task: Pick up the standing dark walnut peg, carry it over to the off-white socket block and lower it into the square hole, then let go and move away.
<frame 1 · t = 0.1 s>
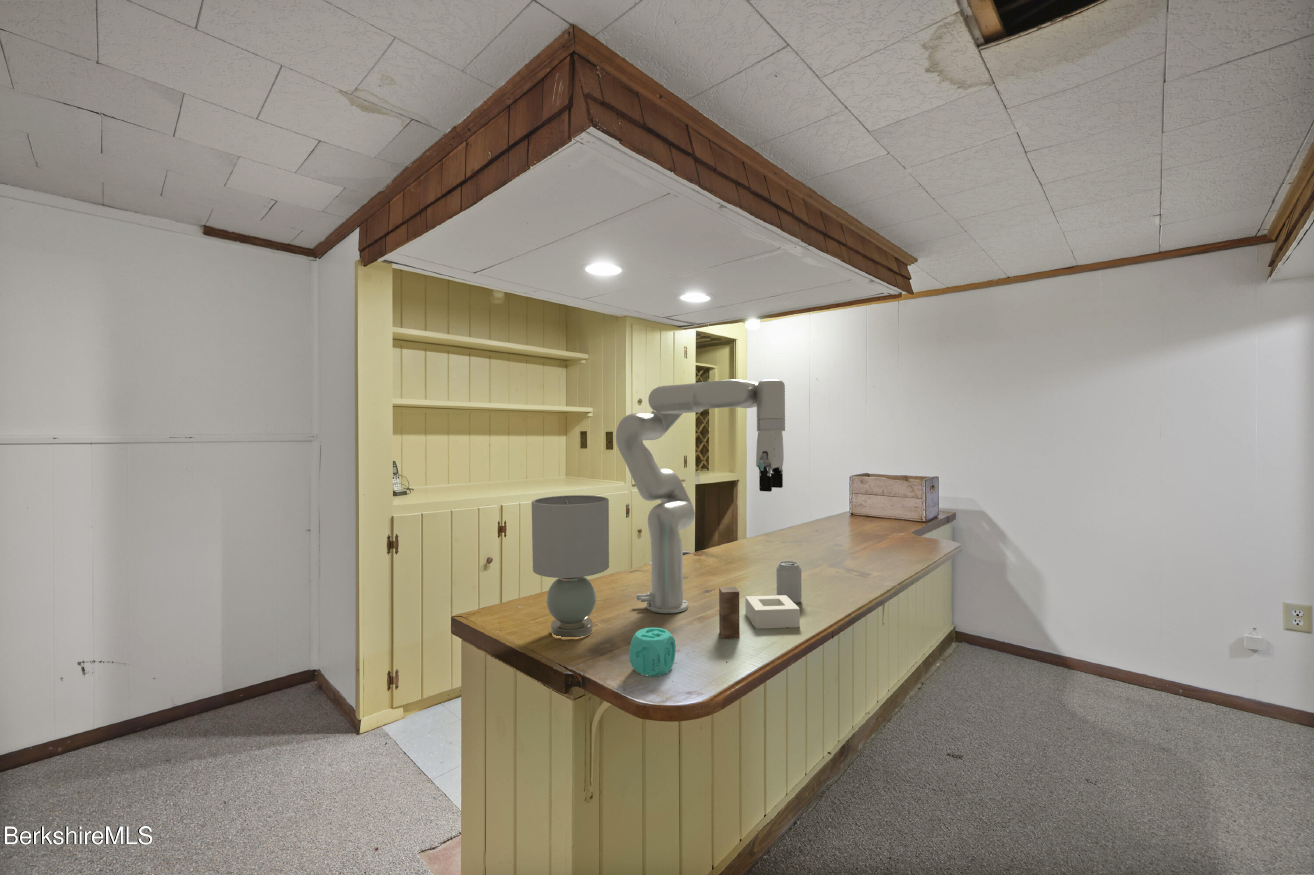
hand: (771, 489, 149), 37 cm above the worktop, tool pointing down, fingers open, 9 cm apart
can: (789, 601, 171), on the worktop
peg: (729, 635, 143), on the worktop
socket block: (771, 620, 154), on the worktop
lamp: (572, 633, 146), on the worktop
decorative dice: (652, 669, 124), on the worktop
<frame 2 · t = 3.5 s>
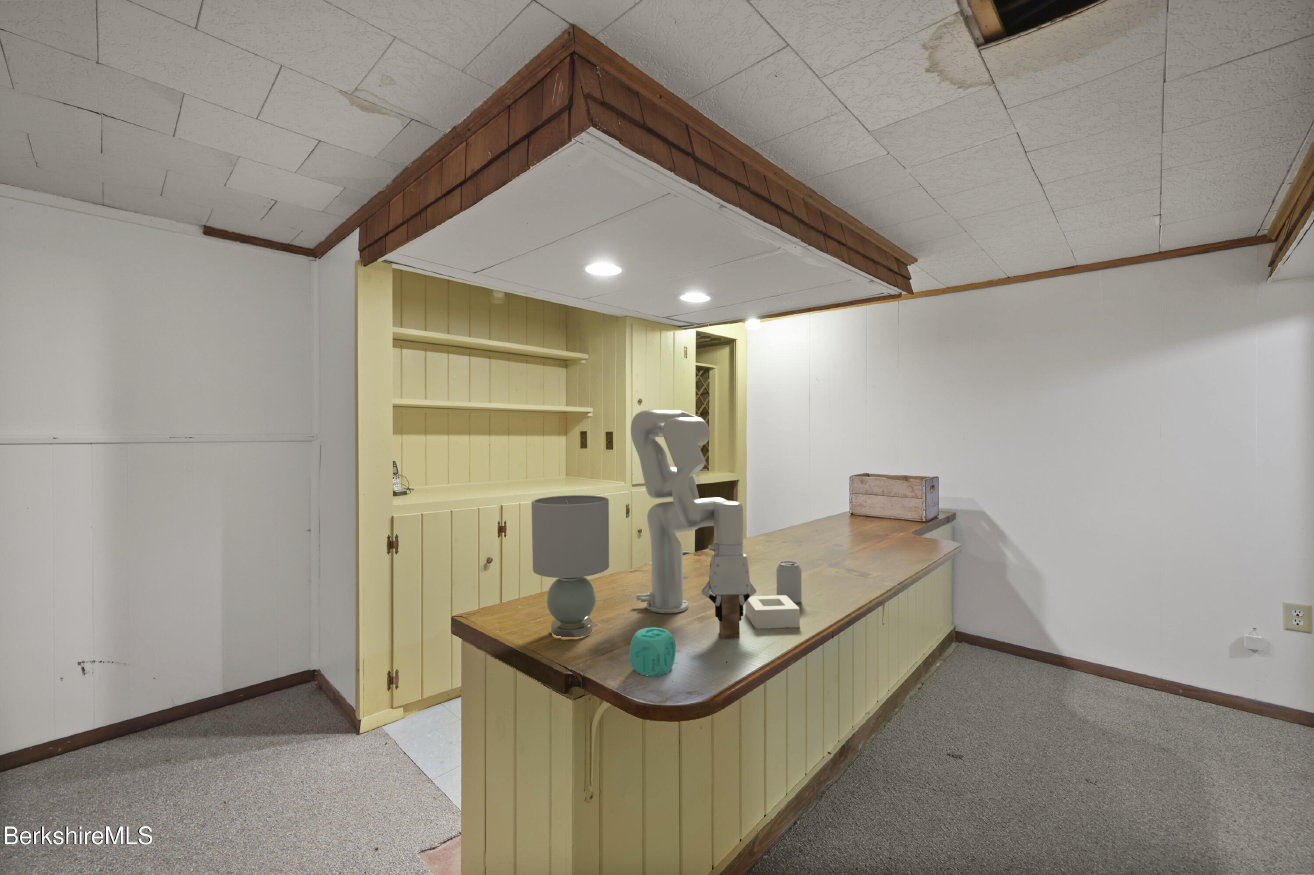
hand: (729, 618, 143), 4 cm above the worktop, tool pointing down, fingers closed on peg, 4 cm apart
peg: (729, 635, 143), on the worktop, touching gripper
everything else where it was.
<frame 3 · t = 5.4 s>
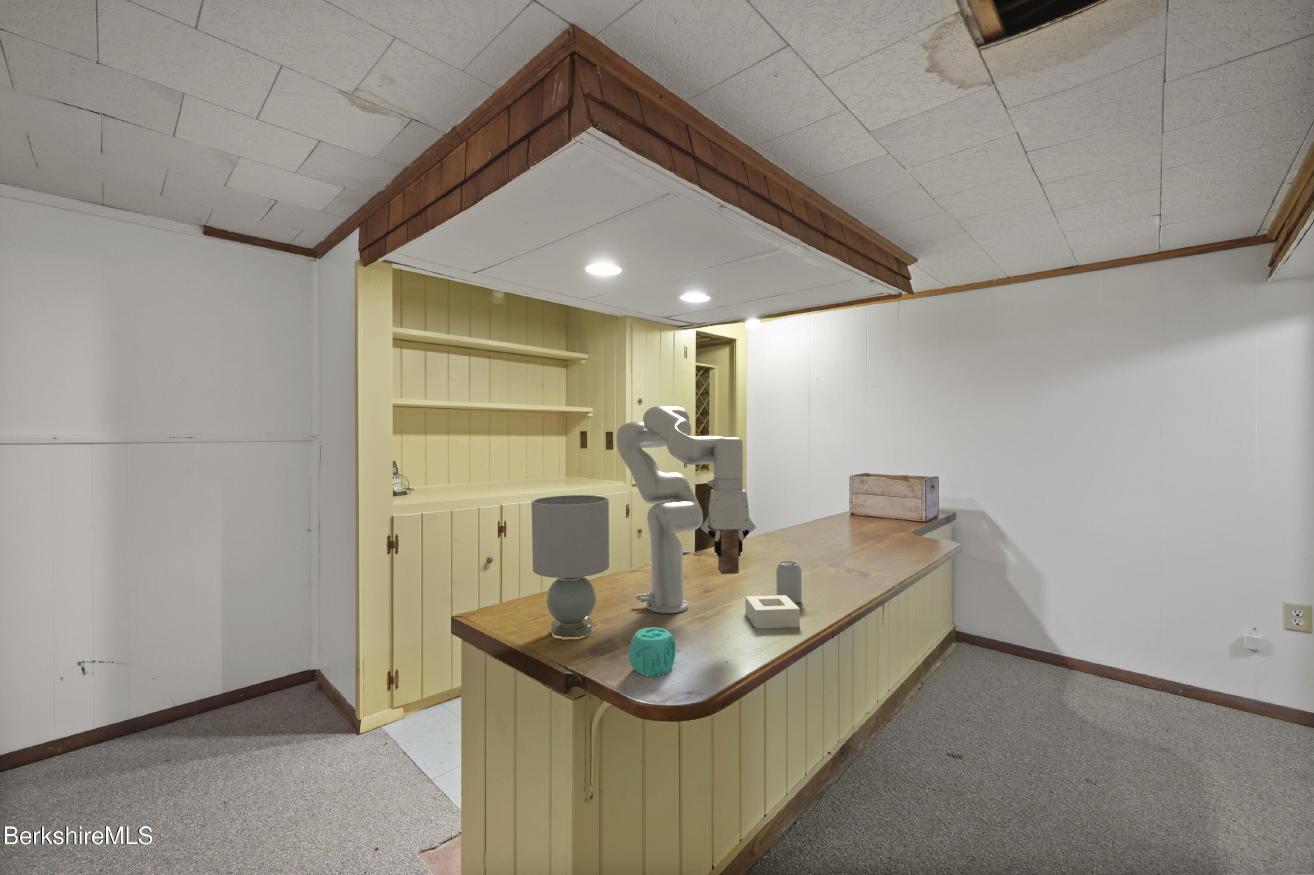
hand: (728, 554, 143), 21 cm above the worktop, tool pointing down, fingers closed on peg, 4 cm apart
peg: (728, 571, 143), point 17 cm above the worktop, touching gripper
everything else where it was.
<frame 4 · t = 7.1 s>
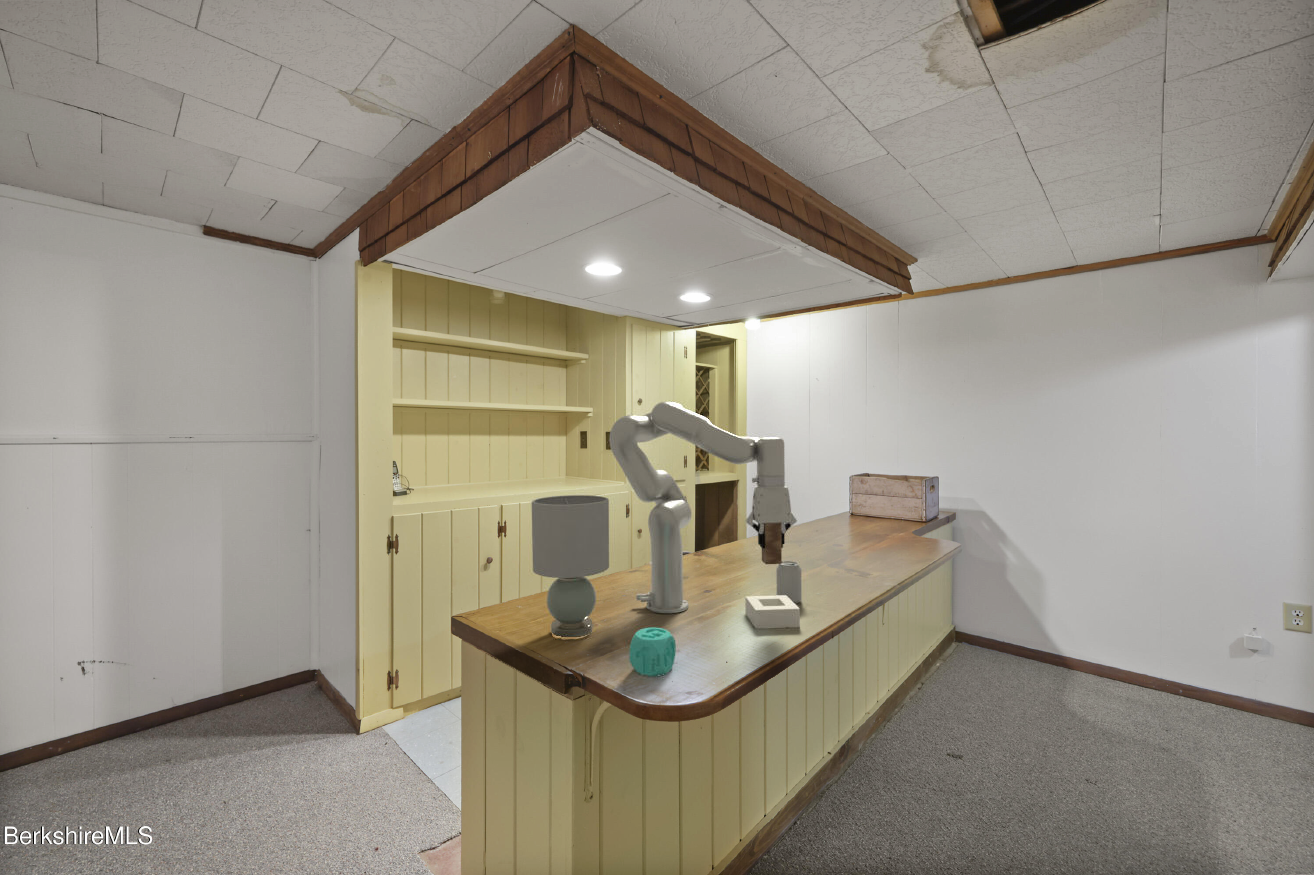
hand: (771, 546, 154), 21 cm above the worktop, tool pointing down, fingers closed on peg, 4 cm apart
peg: (771, 562, 154), point 16 cm above the worktop, touching gripper
everything else where it was.
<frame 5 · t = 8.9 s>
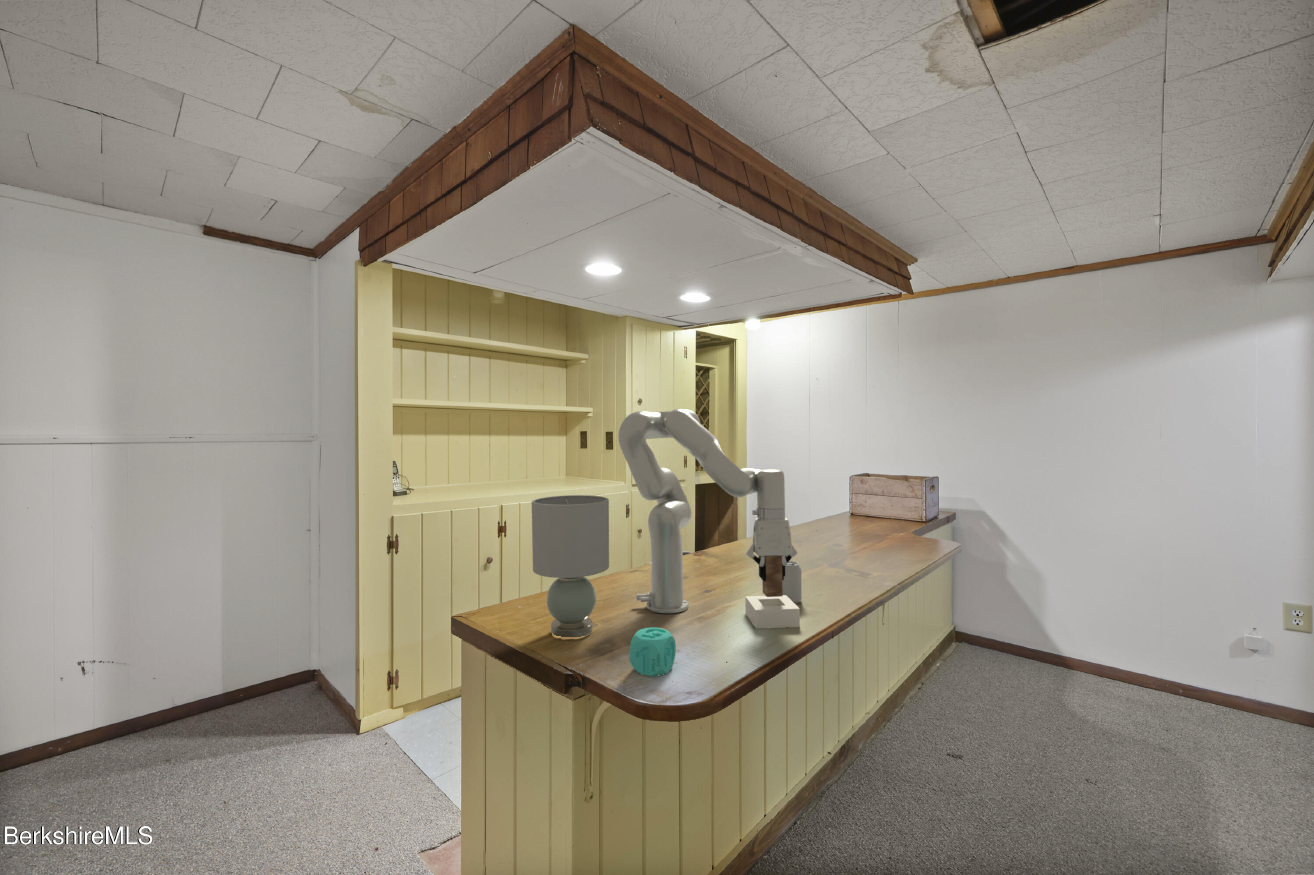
hand: (772, 578, 154), 12 cm above the worktop, tool pointing down, fingers closed on peg, 4 cm apart
peg: (772, 594, 154), point 7 cm above the worktop, touching gripper
everything else where it was.
when the fingers open (6 cm above the worktop, at t = 10.6 s): peg drops 2 cm, resting in socket block.
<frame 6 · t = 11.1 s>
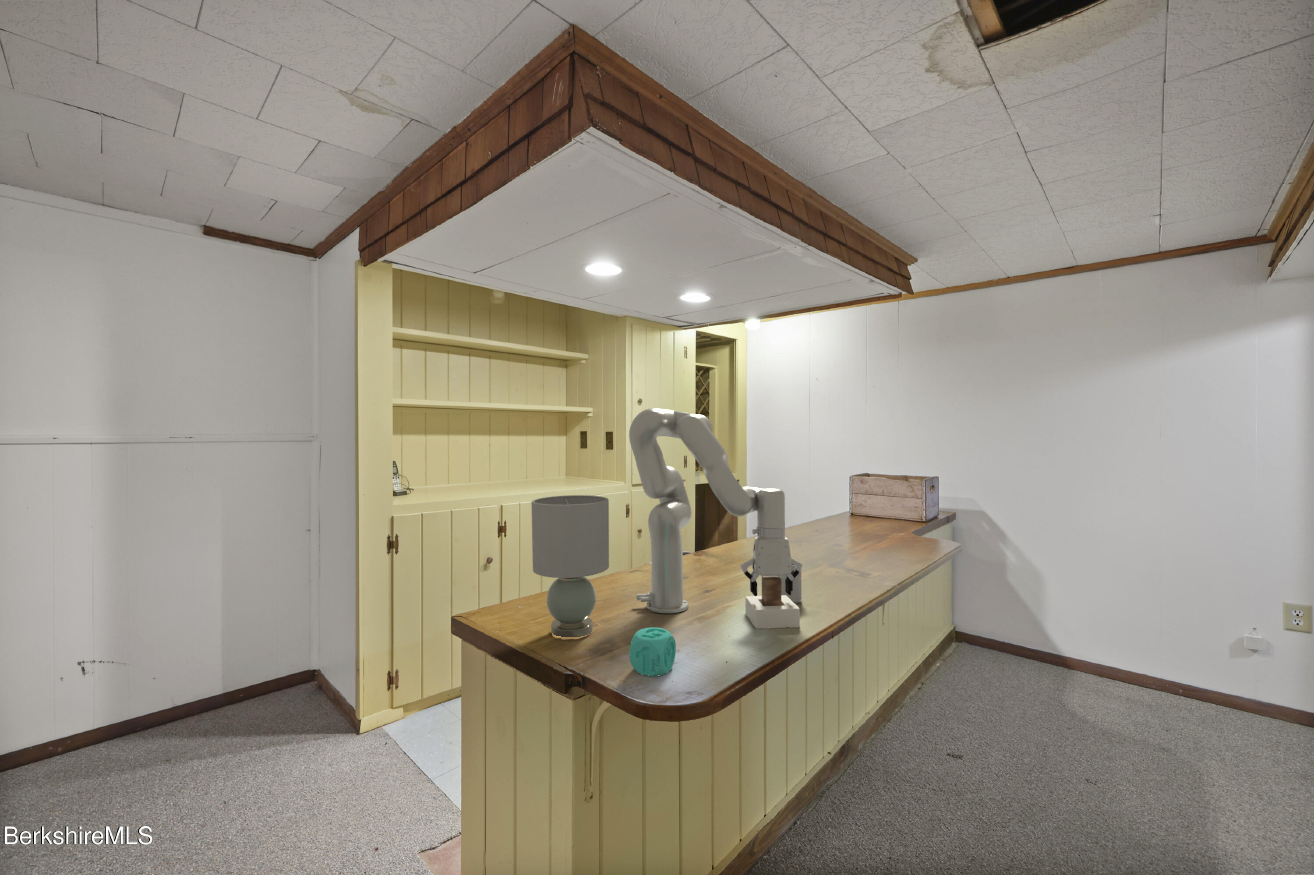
hand: (771, 594, 154), 7 cm above the worktop, tool pointing down, fingers open, 9 cm apart
peg: (771, 620, 154), resting in socket block
everything else where it was.
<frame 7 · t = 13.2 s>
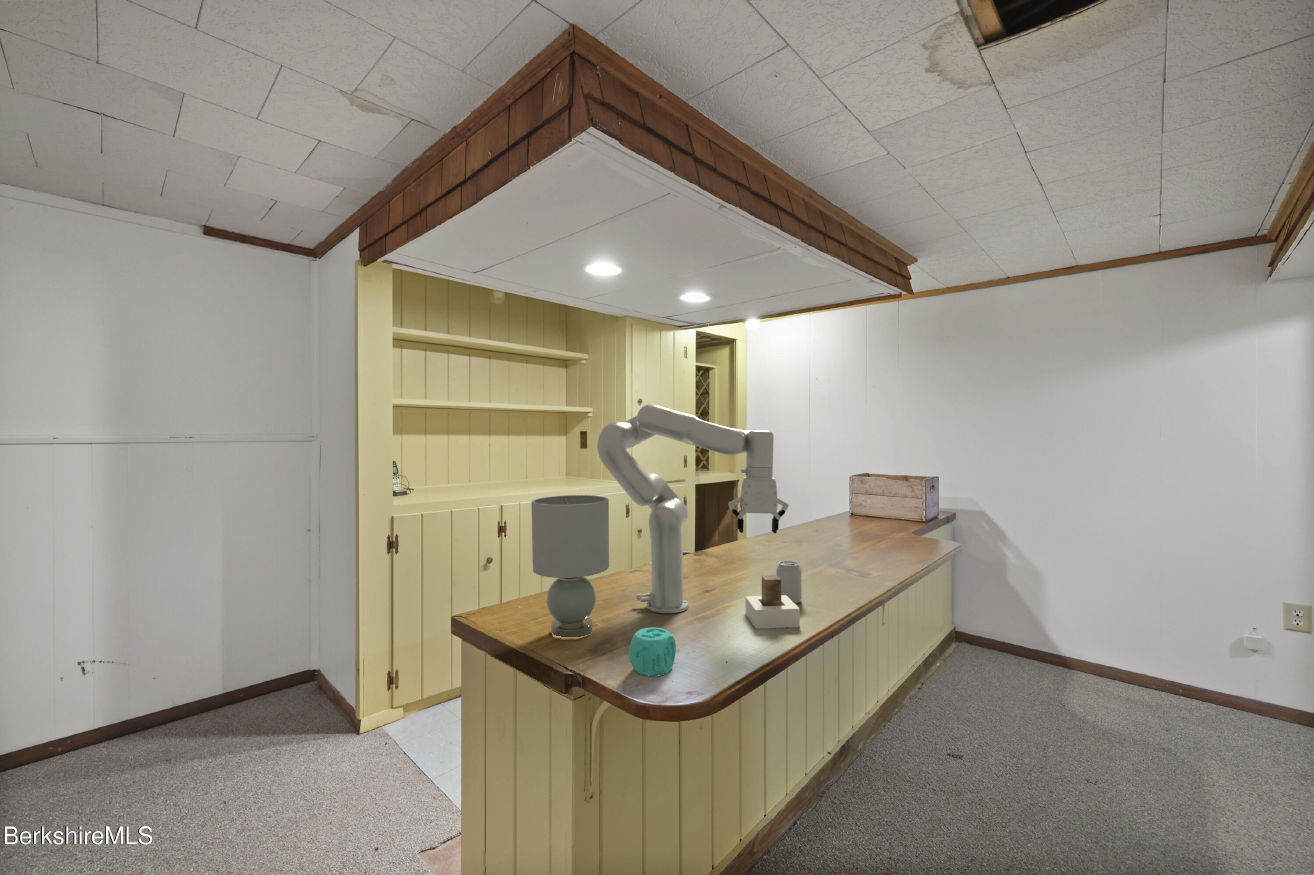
hand: (757, 532, 159), 24 cm above the worktop, tool pointing down, fingers open, 9 cm apart
nothing on the worktop moved.
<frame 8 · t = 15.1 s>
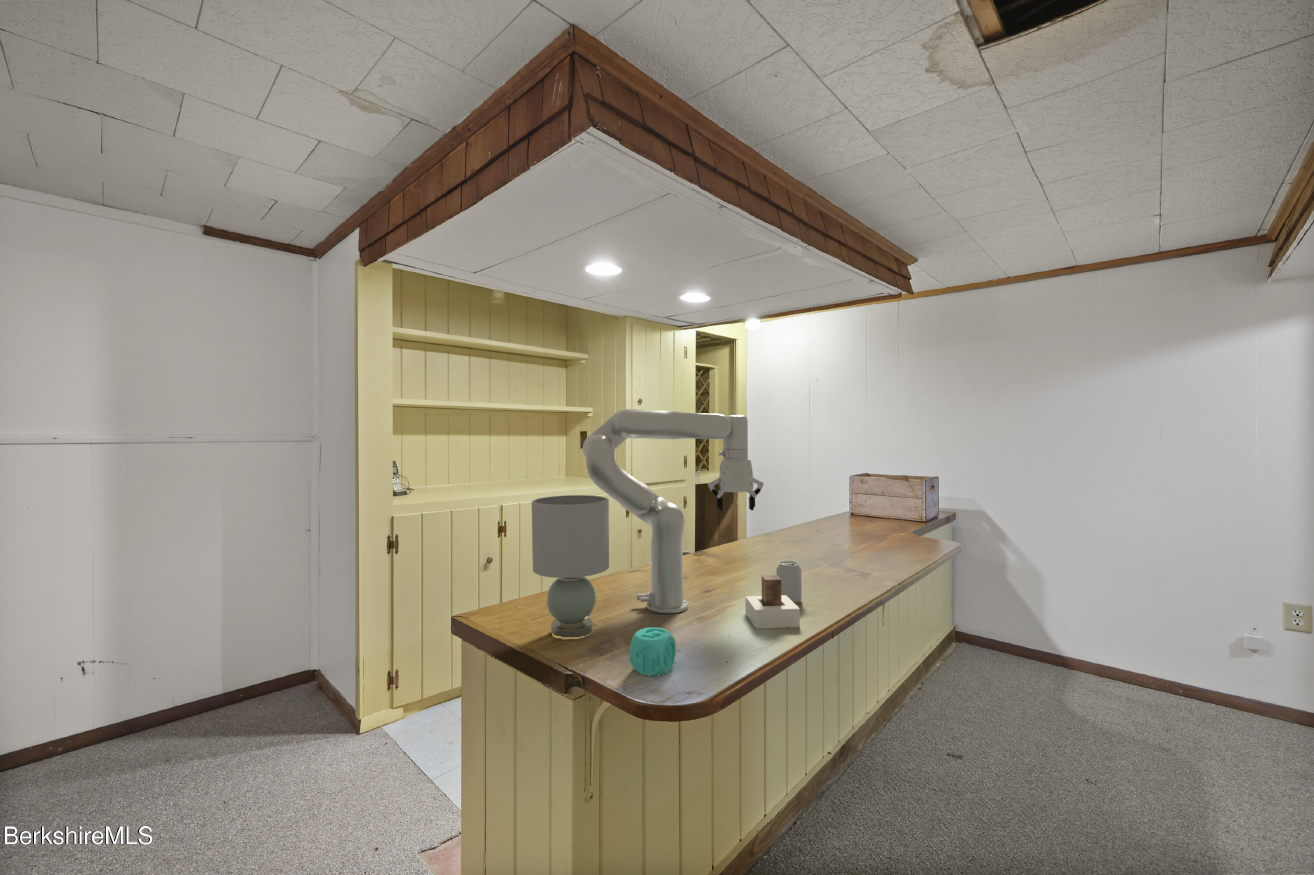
hand: (736, 510, 171), 28 cm above the worktop, tool pointing down, fingers open, 9 cm apart
nothing on the worktop moved.
at the end: peg 0.0 cm from the socket block (horizontally); peg resting in socket block; peg tilted 0° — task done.
